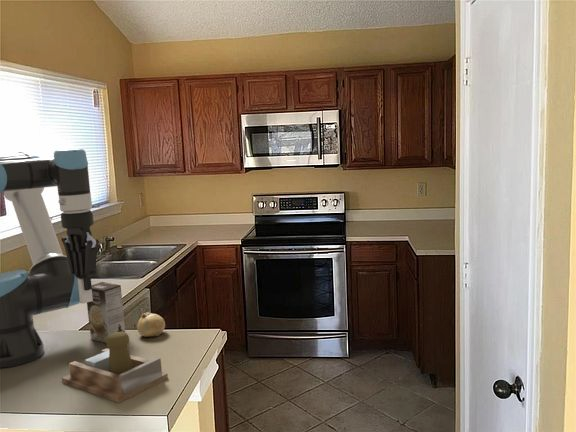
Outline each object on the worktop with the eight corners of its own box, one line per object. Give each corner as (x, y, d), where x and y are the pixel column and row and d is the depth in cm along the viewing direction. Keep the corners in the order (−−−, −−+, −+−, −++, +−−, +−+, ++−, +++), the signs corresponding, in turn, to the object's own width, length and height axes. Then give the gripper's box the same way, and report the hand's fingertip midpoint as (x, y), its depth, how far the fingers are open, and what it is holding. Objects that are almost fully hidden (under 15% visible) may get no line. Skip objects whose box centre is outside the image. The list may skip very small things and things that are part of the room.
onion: (156, 328, 168) (154, 306, 167) (171, 333, 162) (169, 310, 161) (133, 336, 162) (130, 313, 161) (147, 342, 157) (145, 318, 156)
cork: (127, 383, 126) (122, 338, 125) (103, 383, 127) (98, 338, 126) (139, 372, 132) (134, 329, 130) (116, 372, 133) (111, 328, 132)
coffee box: (89, 339, 162) (83, 286, 159) (107, 332, 167) (101, 281, 165) (109, 344, 156) (103, 290, 154) (127, 337, 162) (121, 284, 159)
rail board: (62, 382, 132) (59, 360, 131) (110, 361, 143) (108, 341, 143) (119, 402, 119) (116, 378, 119) (167, 378, 131) (165, 355, 130)
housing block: (86, 375, 132) (84, 360, 131) (110, 365, 137) (109, 350, 137) (96, 379, 130) (94, 363, 129) (120, 368, 135) (119, 352, 135)
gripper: (48, 212, 138) (59, 302, 141) (77, 214, 130) (88, 309, 133) (75, 207, 143) (84, 294, 147) (104, 210, 136) (114, 301, 139)
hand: (86, 301), depth 140 cm, fingers closed
